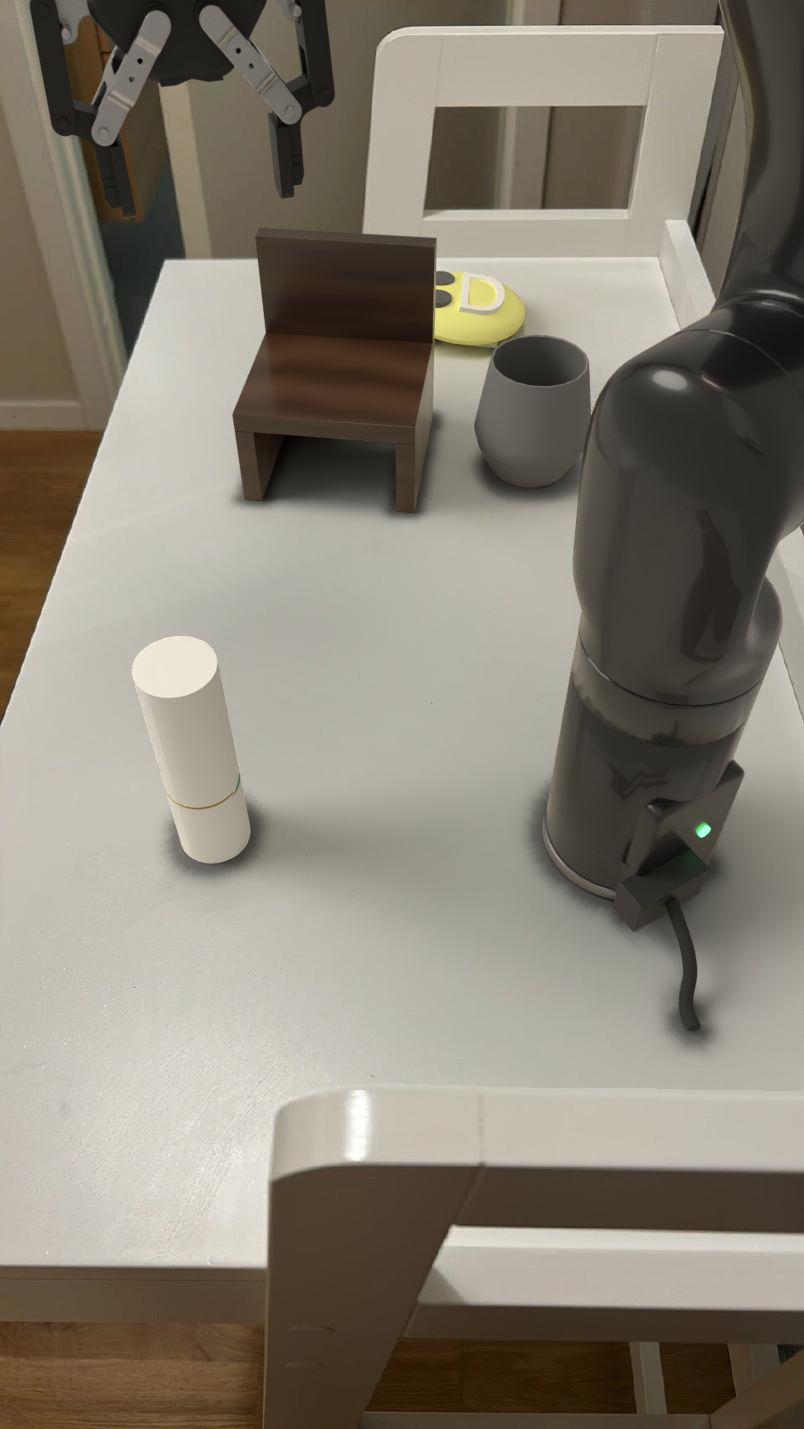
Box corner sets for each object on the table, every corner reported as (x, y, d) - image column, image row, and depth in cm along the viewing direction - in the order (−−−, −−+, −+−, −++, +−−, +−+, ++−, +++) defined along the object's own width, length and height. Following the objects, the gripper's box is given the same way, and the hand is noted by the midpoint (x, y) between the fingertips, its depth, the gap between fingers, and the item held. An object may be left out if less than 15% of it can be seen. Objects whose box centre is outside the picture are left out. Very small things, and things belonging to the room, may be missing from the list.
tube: (221, 875, 62) (180, 710, 51) (165, 843, 64) (113, 676, 52) (264, 823, 64) (234, 655, 53) (209, 794, 66) (169, 624, 55)
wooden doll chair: (414, 513, 84) (416, 328, 72) (244, 499, 85) (217, 315, 73) (432, 417, 93) (436, 237, 81) (278, 406, 94) (259, 227, 82)
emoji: (529, 265, 104) (409, 251, 104) (527, 329, 96) (397, 313, 96) (523, 302, 107) (406, 288, 107) (520, 367, 99) (394, 352, 99)
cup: (605, 484, 86) (625, 376, 79) (507, 515, 84) (517, 406, 76) (547, 424, 92) (560, 318, 84) (453, 451, 89) (457, 344, 82)
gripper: (-21, -158, 41) (80, 251, 53) (332, -183, 43) (351, 214, 56) (-23, -191, 46) (70, 191, 58) (295, -211, 48) (320, 160, 60)
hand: (208, 202), depth 57 cm, fingers open, 8 cm apart
